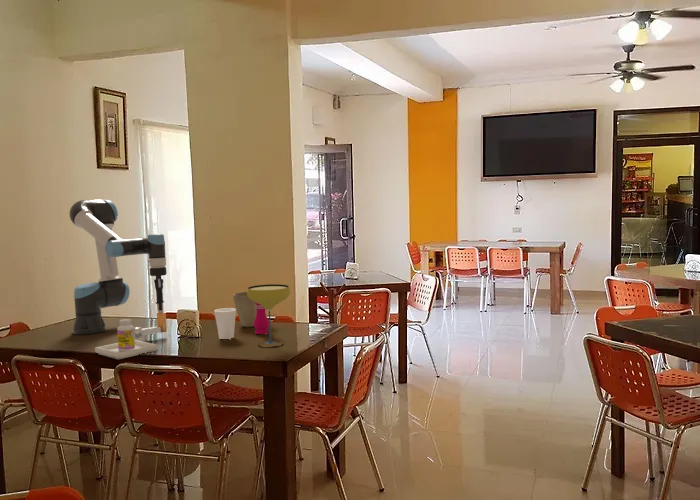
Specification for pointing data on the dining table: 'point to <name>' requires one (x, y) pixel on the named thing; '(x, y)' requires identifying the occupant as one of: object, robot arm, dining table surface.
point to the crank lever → (152, 330)
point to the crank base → (141, 338)
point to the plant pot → (245, 309)
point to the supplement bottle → (125, 335)
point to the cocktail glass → (268, 298)
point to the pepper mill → (261, 320)
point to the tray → (115, 353)
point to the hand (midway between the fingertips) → (160, 317)
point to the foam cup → (225, 322)
